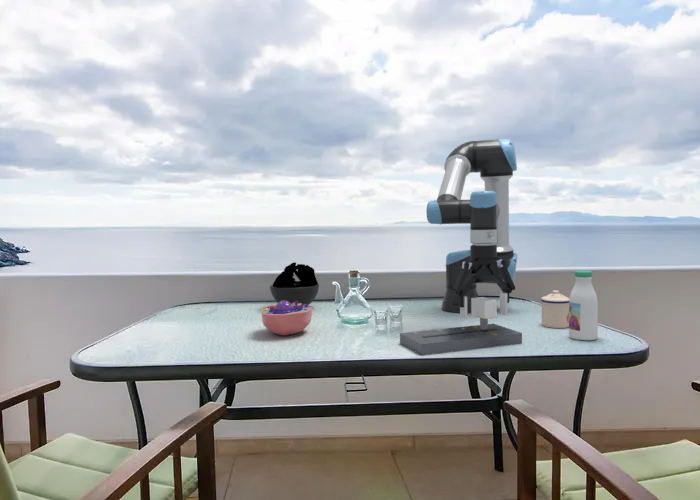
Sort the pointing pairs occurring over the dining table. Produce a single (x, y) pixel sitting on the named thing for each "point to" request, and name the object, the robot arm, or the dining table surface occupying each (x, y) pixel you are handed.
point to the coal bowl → (295, 285)
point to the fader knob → (484, 310)
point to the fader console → (459, 338)
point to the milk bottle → (583, 308)
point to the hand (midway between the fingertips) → (483, 316)
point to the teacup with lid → (555, 310)
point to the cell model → (286, 317)
